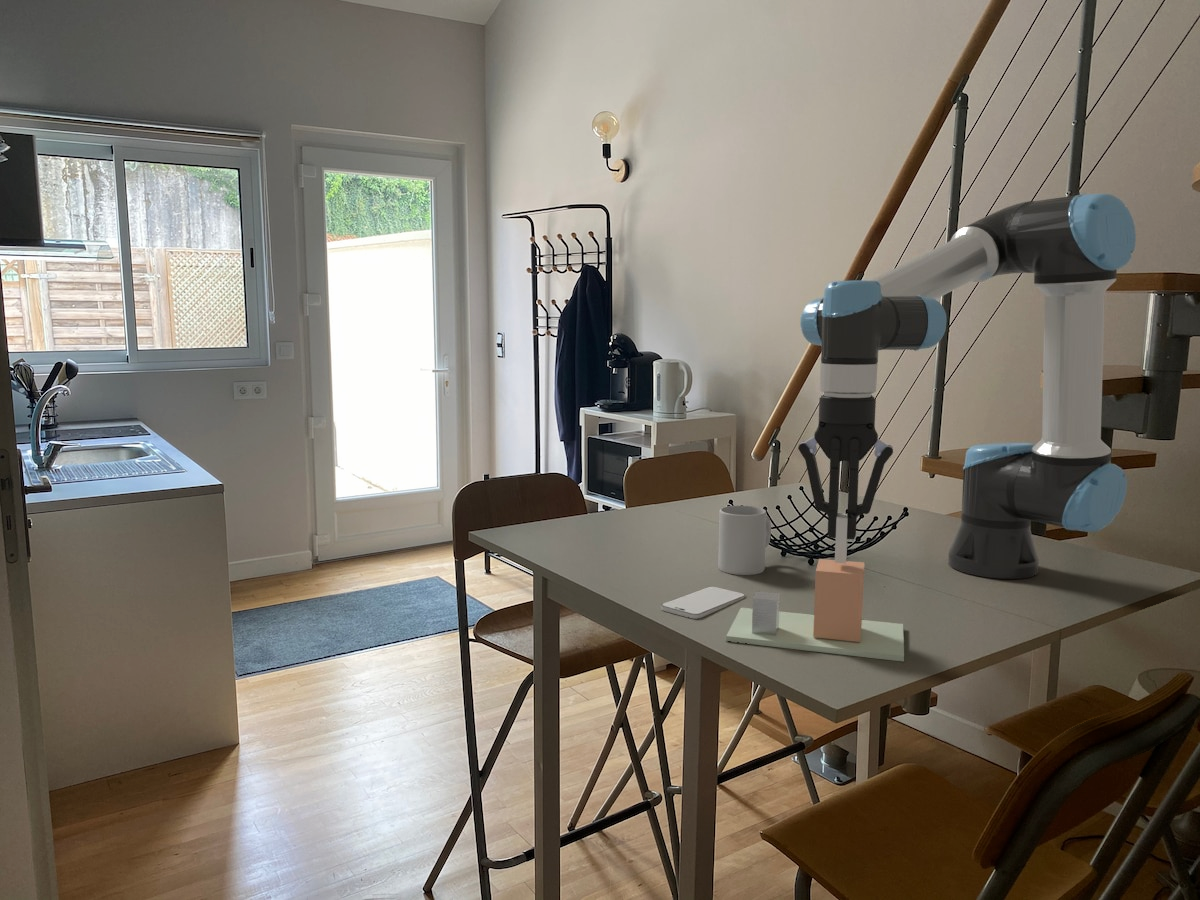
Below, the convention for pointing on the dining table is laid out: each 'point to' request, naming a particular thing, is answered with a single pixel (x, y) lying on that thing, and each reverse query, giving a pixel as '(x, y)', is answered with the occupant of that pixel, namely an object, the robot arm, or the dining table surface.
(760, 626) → the grey post
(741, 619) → the board
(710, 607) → the smartphone
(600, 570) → the dining table surface
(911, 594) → the dining table surface
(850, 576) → the peach rectangular block
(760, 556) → the mug
